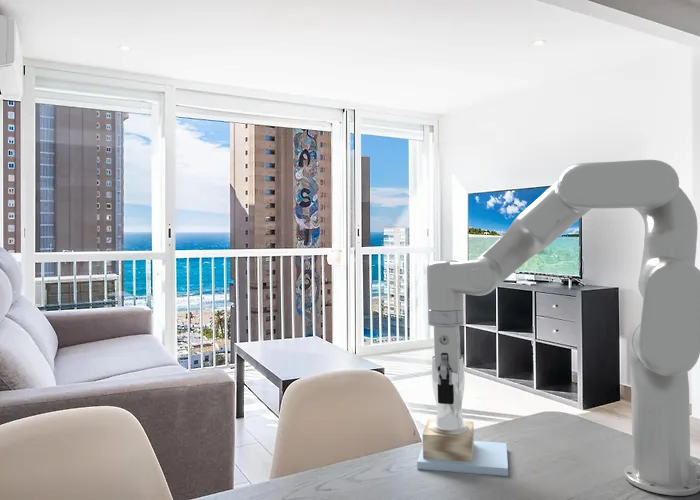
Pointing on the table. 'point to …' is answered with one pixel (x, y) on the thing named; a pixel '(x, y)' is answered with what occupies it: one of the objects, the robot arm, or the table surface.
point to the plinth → (448, 442)
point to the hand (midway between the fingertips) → (447, 396)
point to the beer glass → (450, 413)
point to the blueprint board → (473, 460)
